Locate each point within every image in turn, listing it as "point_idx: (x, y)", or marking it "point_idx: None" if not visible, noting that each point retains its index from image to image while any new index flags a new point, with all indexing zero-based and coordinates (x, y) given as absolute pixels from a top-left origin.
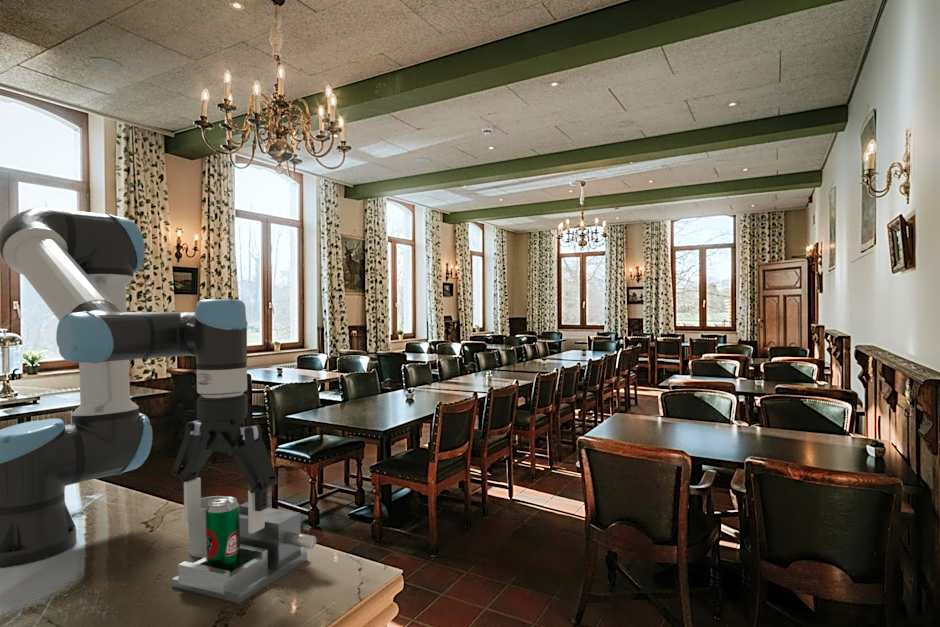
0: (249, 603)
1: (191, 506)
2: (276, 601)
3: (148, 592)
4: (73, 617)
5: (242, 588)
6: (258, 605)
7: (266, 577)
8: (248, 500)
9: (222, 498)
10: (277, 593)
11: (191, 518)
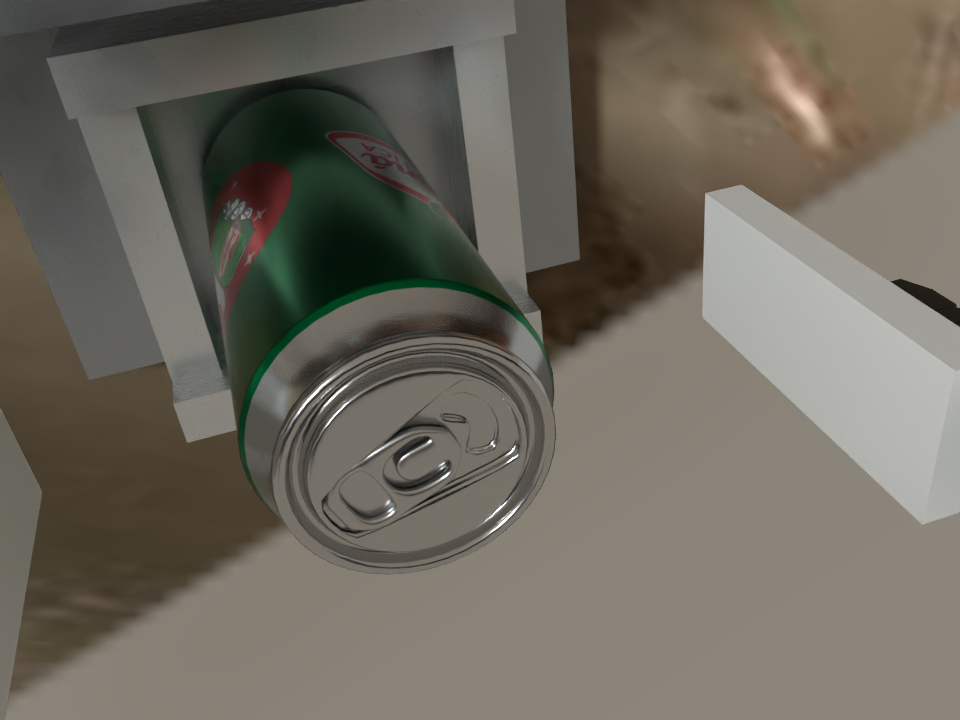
0: (595, 204)
1: (6, 547)
2: (699, 120)
3: (34, 437)
4: (20, 679)
5: (547, 215)
6: (646, 191)
7: (567, 58)
8: (868, 467)
9: (346, 435)
10: (652, 63)
11: (21, 469)
